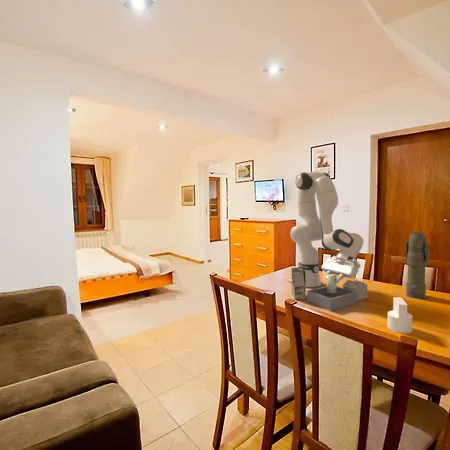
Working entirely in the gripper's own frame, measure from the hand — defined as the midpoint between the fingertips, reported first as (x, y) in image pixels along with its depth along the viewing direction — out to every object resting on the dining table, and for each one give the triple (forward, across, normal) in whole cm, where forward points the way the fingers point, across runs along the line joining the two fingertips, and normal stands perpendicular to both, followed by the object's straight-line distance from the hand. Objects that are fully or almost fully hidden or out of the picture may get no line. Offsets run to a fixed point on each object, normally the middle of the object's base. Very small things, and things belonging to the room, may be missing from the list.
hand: (331, 280), depth 152 cm
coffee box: (+14, -16, +3) cm, 22 cm away
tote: (+8, 0, +9) cm, 12 cm away
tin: (+4, 0, +5) cm, 6 cm away
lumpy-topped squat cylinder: (-3, 0, +21) cm, 21 cm away
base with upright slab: (+9, +36, +10) cm, 38 cm away
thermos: (-24, +18, +41) cm, 50 cm away
